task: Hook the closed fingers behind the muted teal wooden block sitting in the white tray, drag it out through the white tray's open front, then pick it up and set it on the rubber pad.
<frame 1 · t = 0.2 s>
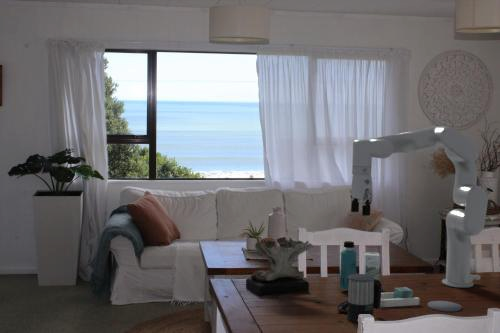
hand: (360, 213, 259), 31 cm above the table, tool pointing down, fingers open, 9 cm apart
syrup box: (371, 289, 263), on the table
coral: (283, 291, 258), on the table
white tray: (395, 302, 244), on the table
teal block: (403, 302, 245), on the table
pad: (444, 306, 239), on the table
beverage bottle: (347, 291, 259), on the table
milk frother: (354, 316, 227), on the table
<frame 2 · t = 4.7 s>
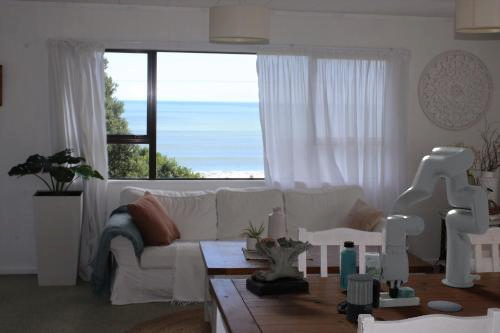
hand: (393, 297, 244), 2 cm above the table, tool pointing down, fingers closed
teal block: (404, 301, 245), on the table, touching gripper
everything else where it was.
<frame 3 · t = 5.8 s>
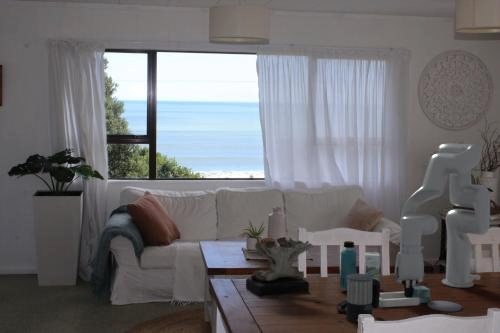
hand: (408, 297, 245), 2 cm above the table, tool pointing down, fingers closed
teal block: (420, 301, 246), on the table, touching gripper
everything else where it was.
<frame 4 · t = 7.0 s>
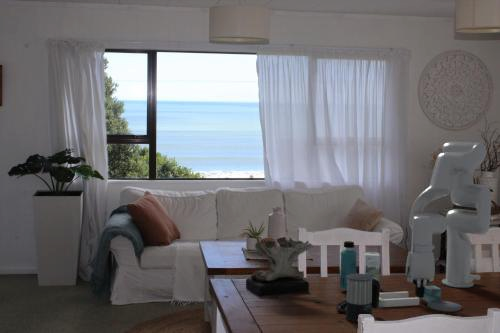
hand: (419, 296, 246), 2 cm above the table, tool pointing down, fingers closed
teal block: (431, 300, 247), on the table, touching gripper
everything else where it was.
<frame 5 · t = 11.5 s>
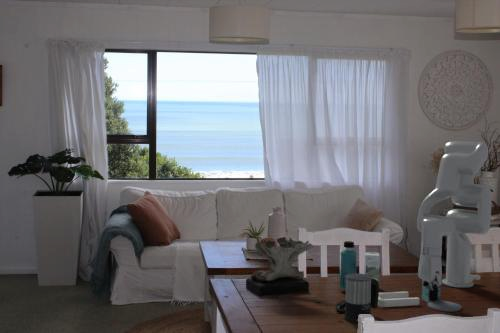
hand: (429, 297, 247), 1 cm above the table, tool pointing down, fingers closed on teal block, 5 cm apart
teal block: (430, 300, 248), on the table, touching gripper
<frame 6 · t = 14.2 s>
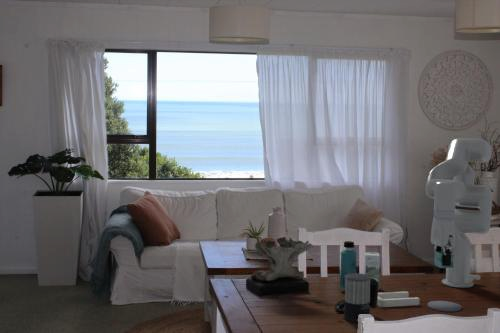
hand: (442, 263, 240), 16 cm above the table, tool pointing down, fingers closed on teal block, 5 cm apart
teal block: (443, 266, 240), point 15 cm above the table, touching gripper
when the fingers open (3 cm above the table, at t = 17.1 s): teal block drops 2 cm, resting on pad.
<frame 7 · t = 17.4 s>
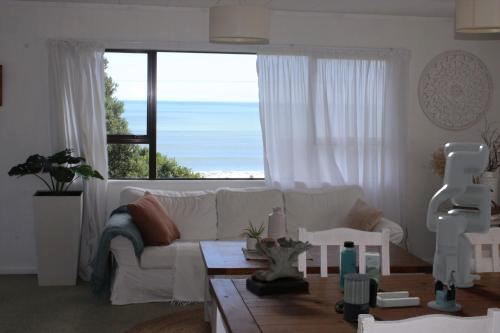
hand: (444, 297, 239), 4 cm above the table, tool pointing down, fingers open, 7 cm apart
teal block: (445, 305, 239), point 1 cm above the table, touching pad
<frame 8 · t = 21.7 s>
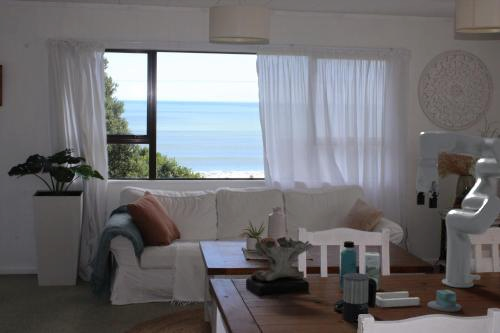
hand: (426, 206, 258), 34 cm above the table, tool pointing down, fingers open, 9 cm apart
at the end: teal block inside the target area on the pad (0.5 cm from its centre), point 0.6 cm above the pad's base; teal block tilted 0°; the gripper is holding nothing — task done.
